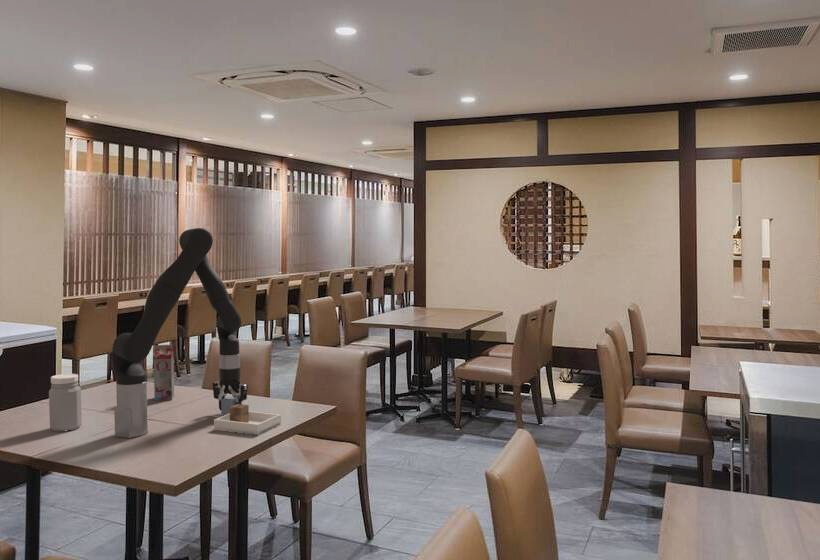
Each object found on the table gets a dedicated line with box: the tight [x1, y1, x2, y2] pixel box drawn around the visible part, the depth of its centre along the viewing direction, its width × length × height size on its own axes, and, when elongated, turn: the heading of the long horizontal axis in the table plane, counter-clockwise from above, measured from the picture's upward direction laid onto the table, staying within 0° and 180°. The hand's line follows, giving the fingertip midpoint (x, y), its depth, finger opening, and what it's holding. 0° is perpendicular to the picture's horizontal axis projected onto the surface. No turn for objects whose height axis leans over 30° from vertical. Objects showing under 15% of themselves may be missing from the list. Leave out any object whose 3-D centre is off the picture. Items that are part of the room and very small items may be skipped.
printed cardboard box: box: [153, 344, 175, 402], centre depth 259 cm, size 7×7×22 cm
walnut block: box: [230, 403, 250, 423], centre depth 219 cm, size 4×4×6 cm
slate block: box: [220, 396, 236, 416], centre depth 235 cm, size 4×4×6 cm
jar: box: [48, 373, 83, 432], centre depth 216 cm, size 10×10×18 cm
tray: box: [213, 410, 282, 436], centre depth 218 cm, size 14×18×4 cm
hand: (230, 410), depth 235 cm, fingers open, 6 cm apart
